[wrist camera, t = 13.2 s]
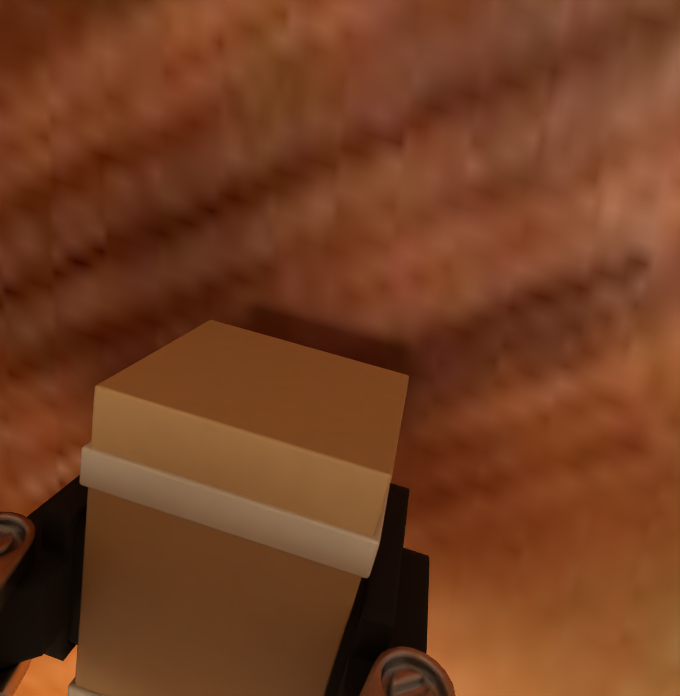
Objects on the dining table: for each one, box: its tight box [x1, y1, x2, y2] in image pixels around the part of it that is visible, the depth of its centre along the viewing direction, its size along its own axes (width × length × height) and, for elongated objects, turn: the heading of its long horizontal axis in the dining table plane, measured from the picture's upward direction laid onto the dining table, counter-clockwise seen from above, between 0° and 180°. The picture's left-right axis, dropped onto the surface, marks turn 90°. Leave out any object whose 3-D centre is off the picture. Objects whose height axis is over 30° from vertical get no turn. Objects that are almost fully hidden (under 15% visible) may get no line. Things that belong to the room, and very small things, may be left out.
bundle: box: [68, 320, 409, 696], centre depth 10 cm, size 5×8×4 cm, turn 167°
